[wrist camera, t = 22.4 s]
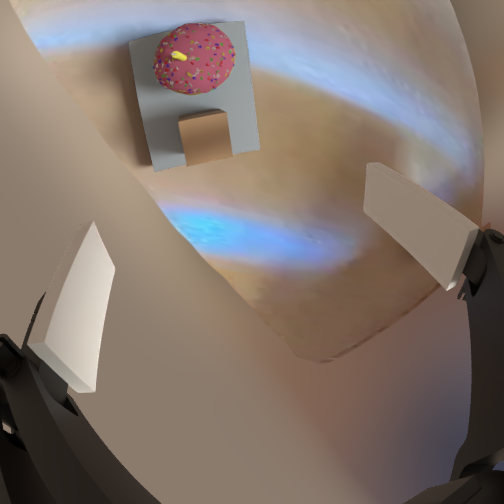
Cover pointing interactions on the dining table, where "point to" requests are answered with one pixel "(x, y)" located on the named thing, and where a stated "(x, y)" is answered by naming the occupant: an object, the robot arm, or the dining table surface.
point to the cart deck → (193, 100)
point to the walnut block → (205, 136)
